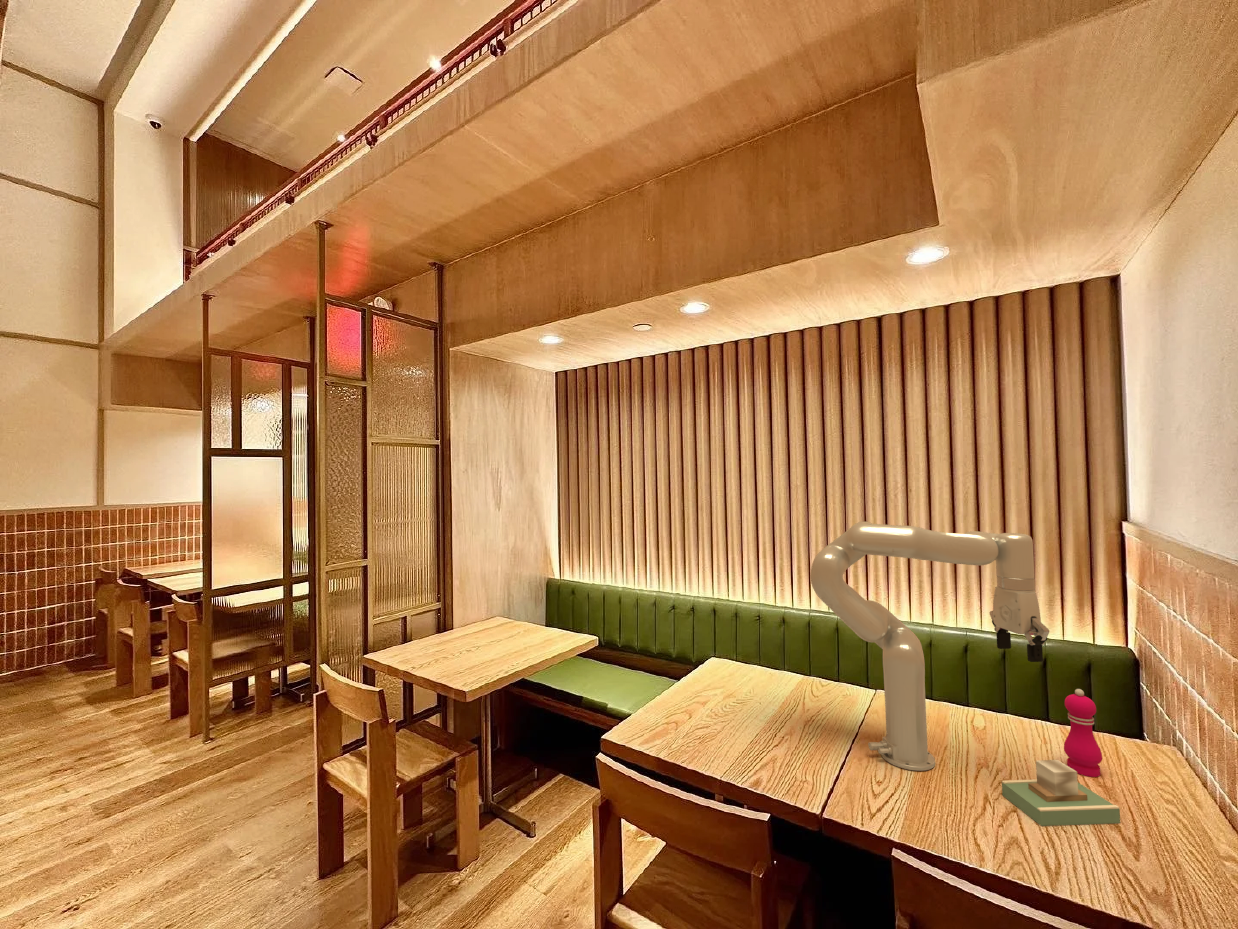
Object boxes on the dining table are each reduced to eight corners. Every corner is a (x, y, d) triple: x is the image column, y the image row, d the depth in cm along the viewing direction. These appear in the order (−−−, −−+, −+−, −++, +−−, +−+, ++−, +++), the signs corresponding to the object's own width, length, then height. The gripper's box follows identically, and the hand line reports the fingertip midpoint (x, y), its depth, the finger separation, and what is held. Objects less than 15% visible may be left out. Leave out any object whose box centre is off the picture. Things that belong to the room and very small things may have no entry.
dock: (1041, 826, 111) (1040, 810, 111) (1002, 795, 122) (1001, 780, 122) (1120, 823, 111) (1119, 807, 111) (1074, 792, 122) (1073, 778, 122)
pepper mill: (1057, 763, 135) (1052, 684, 135) (1083, 762, 135) (1078, 683, 136) (1084, 779, 128) (1079, 695, 128) (1111, 777, 128) (1106, 694, 129)
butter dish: (1047, 802, 114) (1045, 773, 114) (1028, 788, 119) (1027, 760, 119) (1087, 800, 114) (1085, 771, 115) (1067, 787, 119) (1065, 759, 120)
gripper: (975, 578, 137) (979, 644, 137) (1028, 591, 120) (1032, 667, 120) (1004, 577, 138) (1007, 643, 137) (1060, 590, 120) (1065, 666, 120)
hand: (1019, 654), depth 128 cm, fingers open, 9 cm apart
